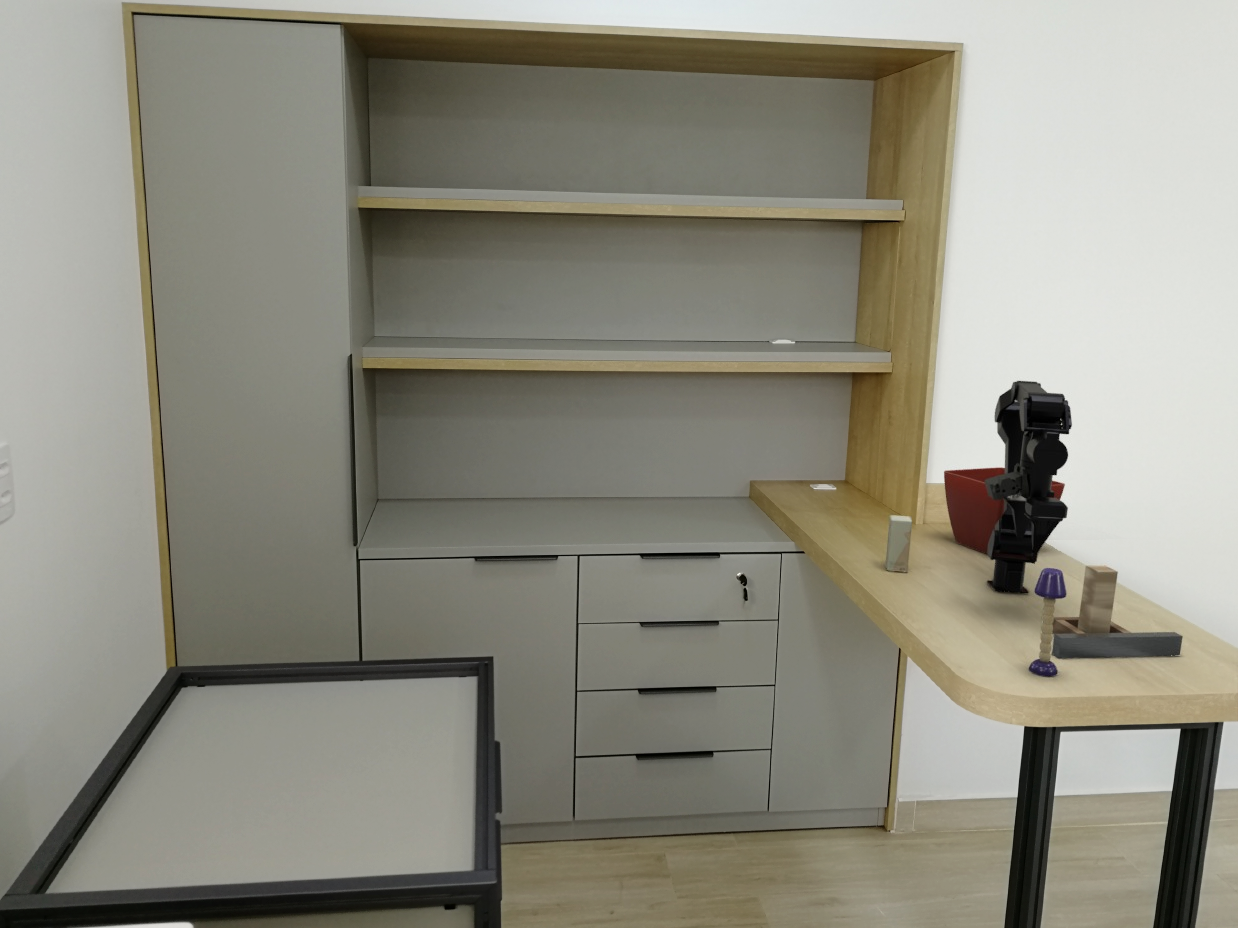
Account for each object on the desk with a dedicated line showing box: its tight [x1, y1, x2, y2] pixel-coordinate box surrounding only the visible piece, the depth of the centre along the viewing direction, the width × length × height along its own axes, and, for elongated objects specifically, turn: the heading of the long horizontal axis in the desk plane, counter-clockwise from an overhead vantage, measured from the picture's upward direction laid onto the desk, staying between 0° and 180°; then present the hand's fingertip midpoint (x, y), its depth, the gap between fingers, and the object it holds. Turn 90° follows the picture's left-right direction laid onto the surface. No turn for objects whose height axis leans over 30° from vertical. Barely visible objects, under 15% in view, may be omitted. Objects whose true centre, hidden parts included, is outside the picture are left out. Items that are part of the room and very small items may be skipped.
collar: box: [1051, 616, 1132, 634], centre depth 178 cm, size 10×10×2 cm
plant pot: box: [943, 467, 1066, 555], centre depth 235 cm, size 19×19×17 cm
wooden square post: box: [1078, 564, 1119, 633], centre depth 177 cm, size 4×4×13 cm
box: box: [885, 514, 913, 573], centre depth 216 cm, size 5×4×11 cm
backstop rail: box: [1051, 631, 1183, 659], centre depth 171 cm, size 2×22×4 cm, turn 98°
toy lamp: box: [1028, 567, 1067, 677], centre depth 162 cm, size 5×5×17 cm
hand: (1027, 544), depth 190 cm, fingers open, 9 cm apart
